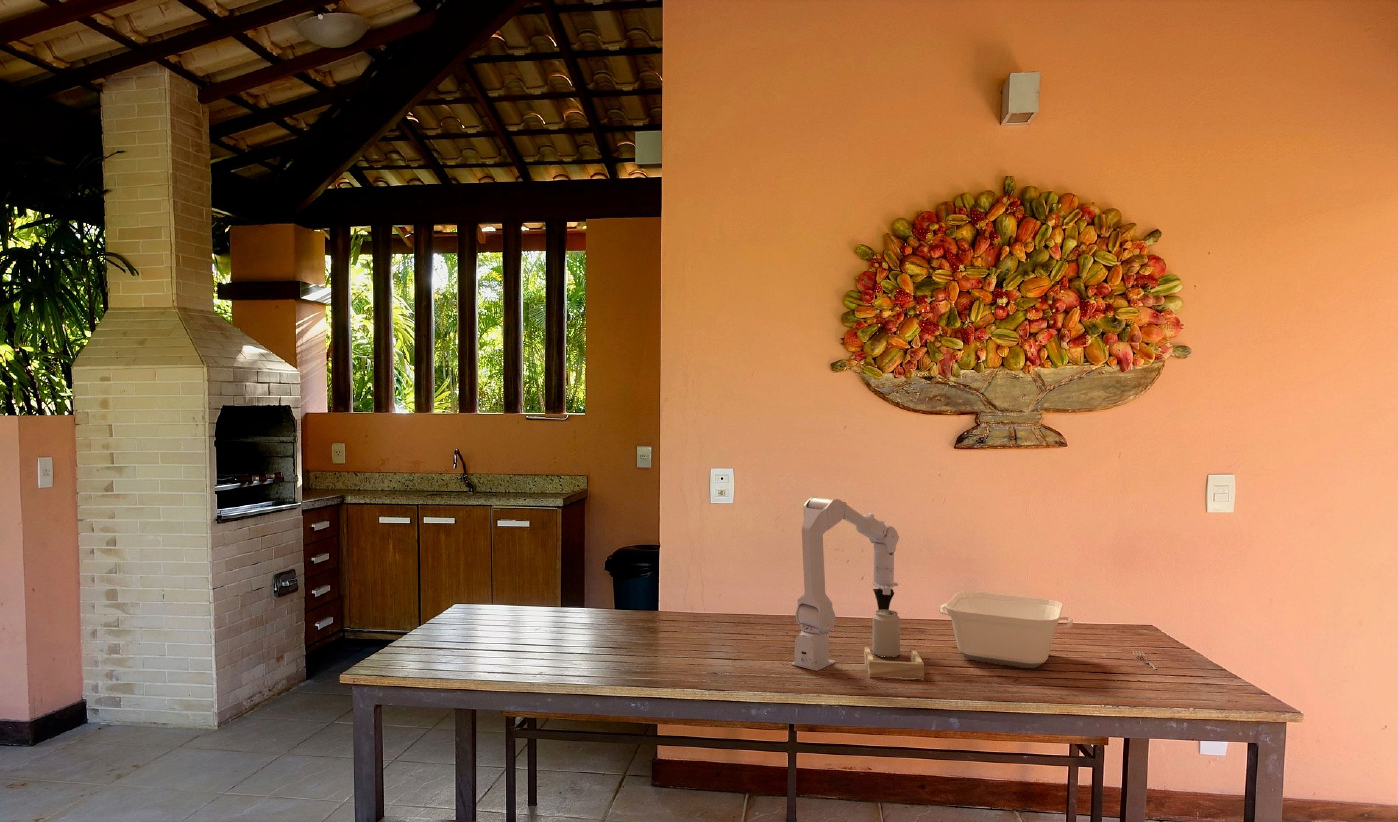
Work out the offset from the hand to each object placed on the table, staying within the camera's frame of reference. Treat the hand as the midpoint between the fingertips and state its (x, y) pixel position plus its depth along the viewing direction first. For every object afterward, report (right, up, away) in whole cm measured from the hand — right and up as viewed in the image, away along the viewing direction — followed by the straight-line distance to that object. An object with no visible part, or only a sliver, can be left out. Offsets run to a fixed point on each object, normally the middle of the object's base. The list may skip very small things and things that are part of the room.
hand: (883, 614), depth 223 cm
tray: (-2, -9, -20) cm, 22 cm away
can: (-1, -10, -7) cm, 12 cm away
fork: (+68, -11, -16) cm, 70 cm away
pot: (+31, -10, -8) cm, 34 cm away
